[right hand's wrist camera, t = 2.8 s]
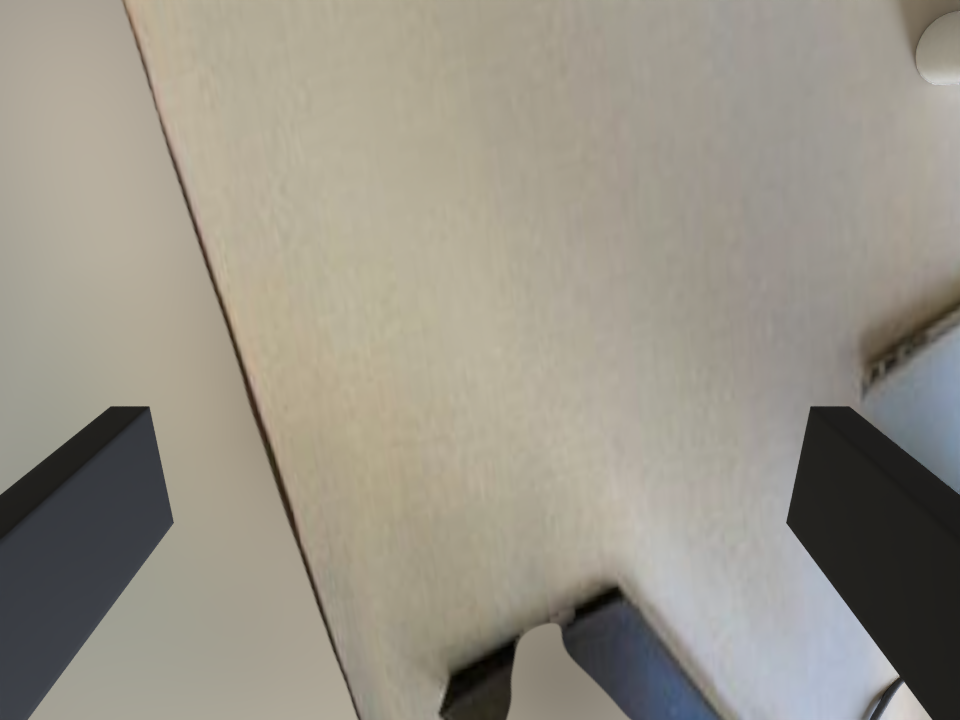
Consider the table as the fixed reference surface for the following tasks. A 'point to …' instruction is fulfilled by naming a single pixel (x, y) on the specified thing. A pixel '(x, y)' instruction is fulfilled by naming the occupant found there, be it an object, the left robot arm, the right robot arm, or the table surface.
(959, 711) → the right robot arm
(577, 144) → the table surface
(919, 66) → the bottle
